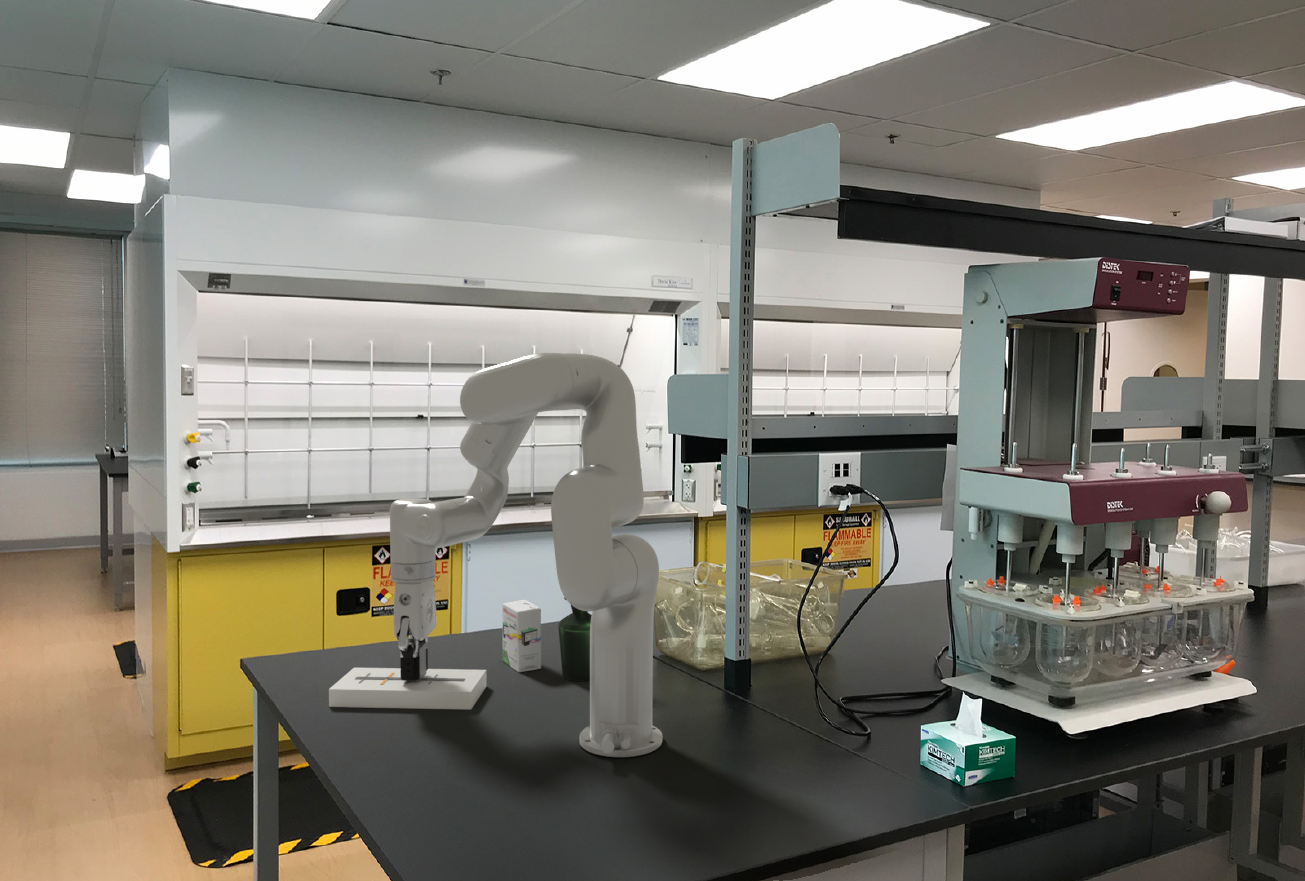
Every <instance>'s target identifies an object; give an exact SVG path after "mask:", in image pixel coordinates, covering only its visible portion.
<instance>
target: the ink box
mask: <svg viewBox="0 0 1305 881" xmlns="http://www.w3.org/2000/svg"><path fill="white" fill-rule="evenodd" d="M501 605H502V607H501V608H502V614H501V616H502V655H501V656H502V662H503V663H505V664H506V665H507V666H509V667H510V668H512V669H513V670H515V671H516V672H518V673H522V672H529V671H534V670H535V671H536V670H540V669H542V609H541V607H539V606H537V605H536V604H534V603H532V602H530V601H528V600H526V599H520V600H519V599H518V600H514V601H510V602H509V601H508V602H503V603H502V604H501Z"/></svg>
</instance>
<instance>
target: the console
mask: <svg viewBox="0 0 1305 881" xmlns="http://www.w3.org/2000/svg"><path fill="white" fill-rule="evenodd" d="M486 688H487V669H461V668H460V669H459V668H458V669H457V668H456V669H455V668H454V669H453V668H428V670H427V671H426V675H425V676H424V677H423V678H422V679H421V680H420V681H403V680H402V679H401V667H400V668H397V667H396V668H395V667H394V668H393V667H389V668H388V667H353V668H351V670H349V671H348V672H347V673H346V674H345V675H344V676H342V677H341V678H340V679H339V680H338V681H336V682H335V683H334V684H333V685H332V686H331V687H329V689H328V707H329V708H364V709H365V708H367V709H368V708H374V709H421V710H423V709H425V710H472V709H473V707H474V705H475V704H476V703H477V701H478V700H479V699H480V697H481V696H482V694H483V692H484V691H485V689H486Z"/></svg>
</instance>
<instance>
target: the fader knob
mask: <svg viewBox="0 0 1305 881" xmlns="http://www.w3.org/2000/svg"><path fill="white" fill-rule="evenodd" d="M409 644H411V645H412V647H413V643H409ZM418 656H420V679H419V680H403V681H420V680H421V679H422V678H423V677H424V676H425V675H426V643H419V642H418Z"/></svg>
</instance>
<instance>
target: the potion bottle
mask: <svg viewBox="0 0 1305 881" xmlns="http://www.w3.org/2000/svg"><path fill="white" fill-rule="evenodd" d="M563 598H564V601H567V600H566V598H565V597H563ZM569 604H570V603H569ZM570 609H571V612H572V613H570V614H568V615H567V616H565V617H563V618H562V619H561V620H560V621H559V623H558V624H557V629H558V639H559V649H560V650H559V651H560V662H561V673H562V677H563V678H564V679H566V680H569V681H574V682H581V681H582V682H583V681H584V682H585V681H590V624H591V616H592V613H589V611H582V610H579V609H577V608H575V607H574V606H572V605H571V604H570Z"/></svg>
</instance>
